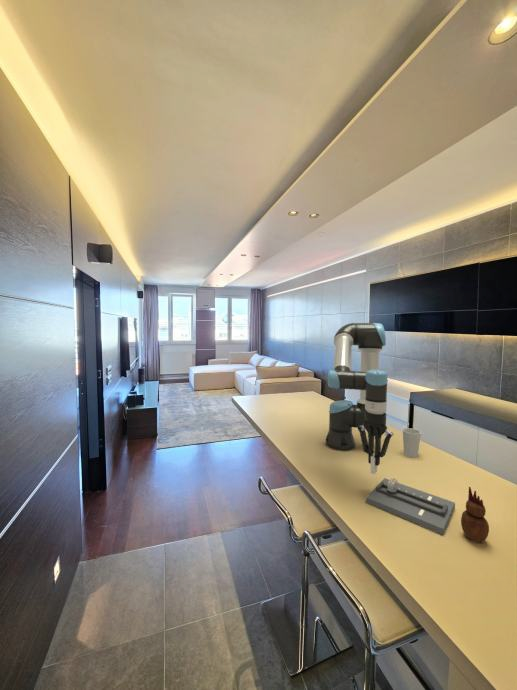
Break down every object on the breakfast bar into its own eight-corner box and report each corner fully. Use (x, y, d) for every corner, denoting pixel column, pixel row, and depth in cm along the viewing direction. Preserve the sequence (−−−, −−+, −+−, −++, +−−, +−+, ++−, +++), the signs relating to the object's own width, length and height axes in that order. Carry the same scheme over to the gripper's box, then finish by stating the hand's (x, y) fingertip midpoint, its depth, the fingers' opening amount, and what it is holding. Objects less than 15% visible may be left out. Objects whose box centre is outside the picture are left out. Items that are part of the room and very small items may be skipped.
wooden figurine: (456, 530, 92) (458, 484, 90) (473, 529, 92) (476, 483, 91) (473, 547, 85) (476, 497, 84) (492, 545, 85) (495, 496, 84)
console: (365, 502, 106) (366, 493, 106) (384, 482, 119) (384, 474, 119) (443, 535, 90) (443, 524, 89) (454, 508, 103) (455, 498, 102)
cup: (422, 459, 140) (423, 434, 139) (404, 457, 141) (405, 433, 141) (416, 452, 148) (417, 428, 147) (399, 450, 149) (400, 427, 148)
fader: (385, 493, 108) (386, 481, 107) (390, 488, 111) (390, 477, 111) (394, 497, 106) (394, 484, 105) (398, 492, 109) (398, 479, 108)
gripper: (354, 410, 113) (353, 470, 114) (389, 417, 104) (387, 482, 105) (362, 406, 118) (361, 463, 119) (397, 412, 109) (394, 474, 111)
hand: (373, 472), depth 112 cm, fingers closed
